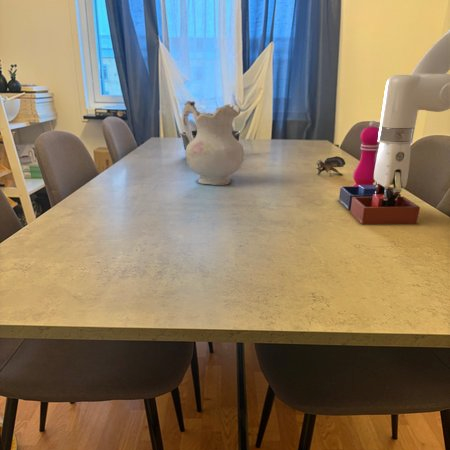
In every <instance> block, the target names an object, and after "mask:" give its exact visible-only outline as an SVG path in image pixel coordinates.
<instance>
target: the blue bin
mask: <svg viewBox="0 0 450 450" xmlns="http://www.w3.org/2000/svg"><path fill="white" fill-rule="evenodd" d="M358 190H359V186H353V185H351V186H349V185H348V186H347V185H345V186H340V188H339V195H338V202H339V203H340V204H341V205H342V206H343V207H344V208H345V209H346V210H347V211H348V212H350V211H351V203H352V197H373V195H358ZM390 191H392V190H388V194H389V192H390ZM398 196H402V194H400V193H399V195H398Z"/></svg>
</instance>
